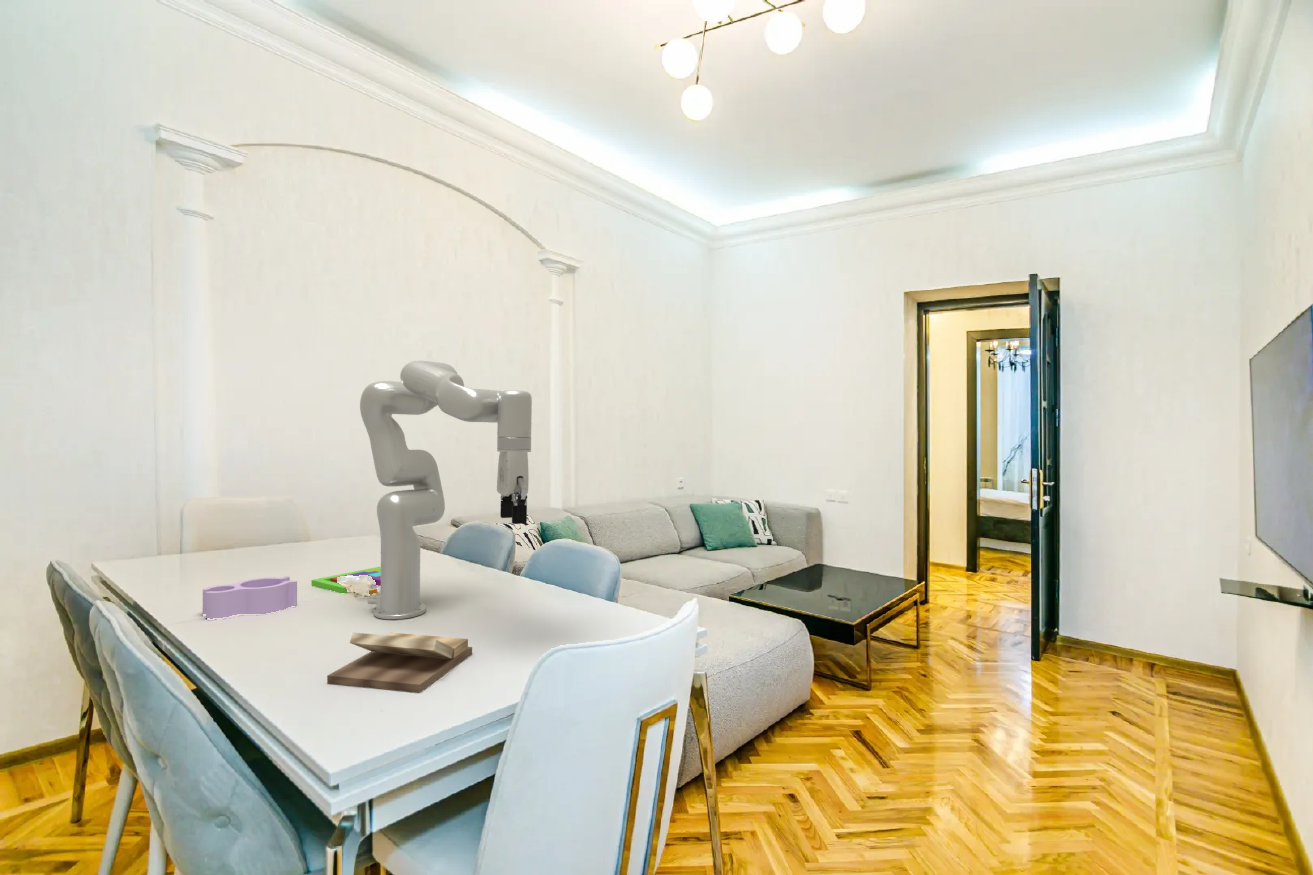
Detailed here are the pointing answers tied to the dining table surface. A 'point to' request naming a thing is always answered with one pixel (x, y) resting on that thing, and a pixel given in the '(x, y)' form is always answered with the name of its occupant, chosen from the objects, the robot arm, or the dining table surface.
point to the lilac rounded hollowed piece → (250, 597)
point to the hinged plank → (402, 645)
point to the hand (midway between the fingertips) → (513, 520)
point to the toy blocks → (331, 581)
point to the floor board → (400, 667)
